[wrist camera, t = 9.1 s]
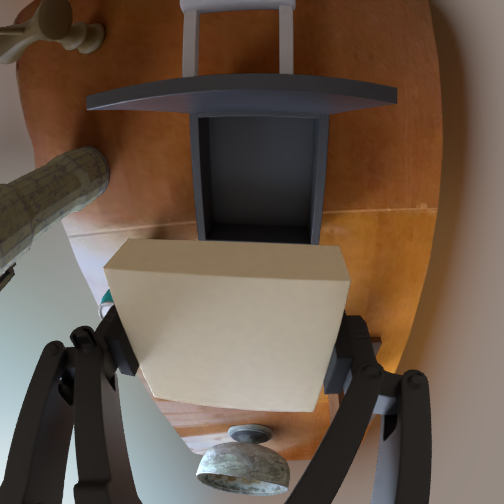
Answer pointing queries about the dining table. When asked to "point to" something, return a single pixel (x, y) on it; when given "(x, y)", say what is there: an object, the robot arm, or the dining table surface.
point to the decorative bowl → (245, 464)
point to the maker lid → (244, 78)
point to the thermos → (46, 201)
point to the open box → (259, 175)
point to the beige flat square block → (231, 319)
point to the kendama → (50, 31)
